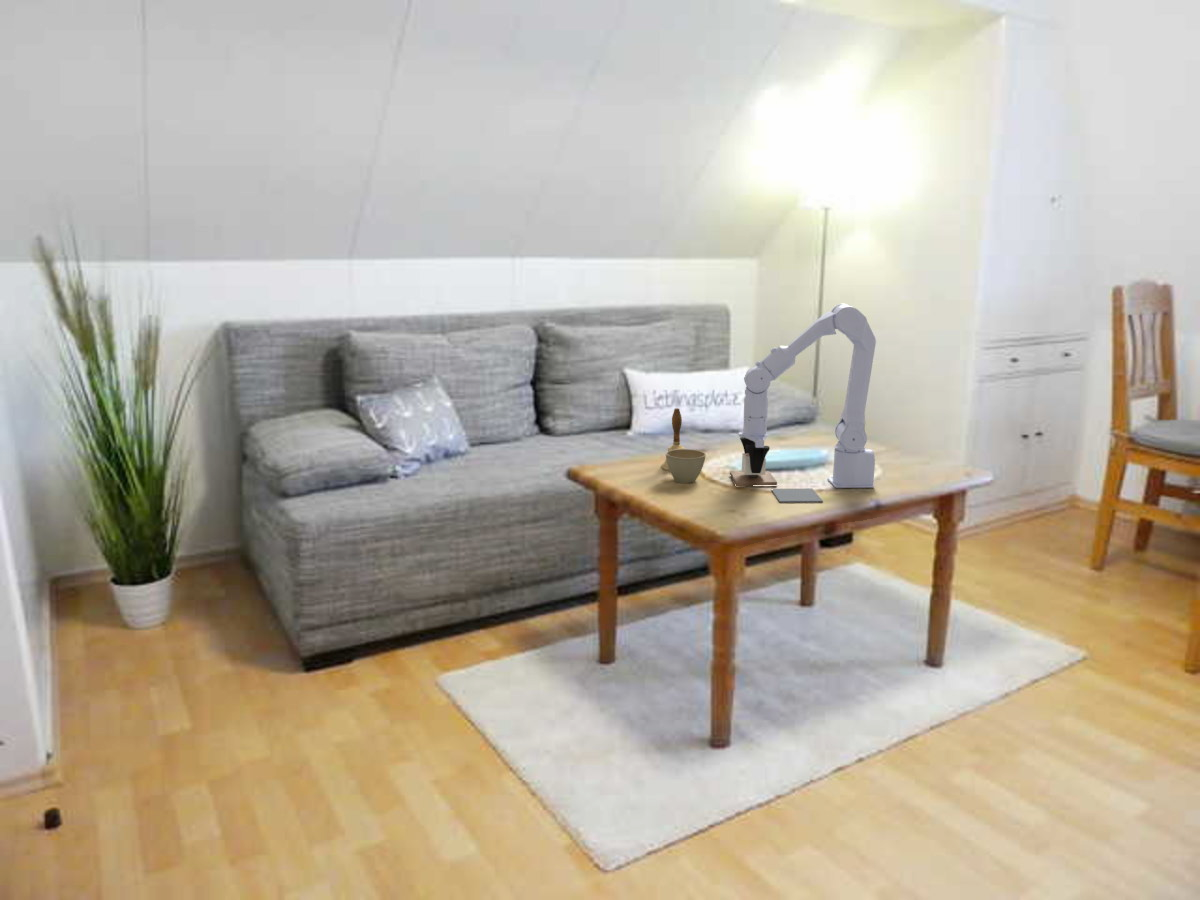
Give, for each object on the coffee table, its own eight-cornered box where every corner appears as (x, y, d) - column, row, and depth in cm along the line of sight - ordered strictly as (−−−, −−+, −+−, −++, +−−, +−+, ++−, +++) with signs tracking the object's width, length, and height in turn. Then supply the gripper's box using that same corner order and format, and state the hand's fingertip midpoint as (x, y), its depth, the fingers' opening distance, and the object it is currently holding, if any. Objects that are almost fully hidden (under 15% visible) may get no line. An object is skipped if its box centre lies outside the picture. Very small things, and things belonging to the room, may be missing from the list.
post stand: (768, 475, 221) (769, 453, 219) (776, 486, 211) (777, 463, 210) (730, 475, 221) (730, 453, 219) (736, 487, 211) (737, 463, 210)
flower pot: (703, 487, 211) (703, 459, 209) (662, 485, 213) (663, 457, 211) (706, 476, 221) (707, 449, 219) (667, 474, 223) (668, 447, 221)
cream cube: (761, 469, 218) (762, 452, 217) (765, 474, 213) (765, 457, 212) (741, 469, 218) (742, 452, 217) (745, 474, 213) (745, 457, 212)
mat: (812, 490, 208) (812, 488, 208) (822, 502, 198) (822, 500, 198) (771, 490, 208) (771, 488, 208) (779, 502, 198) (779, 501, 198)
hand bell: (654, 467, 229) (655, 409, 225) (672, 461, 235) (673, 404, 231) (680, 473, 224) (681, 413, 220) (698, 466, 230) (699, 408, 226)
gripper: (734, 410, 219) (732, 461, 222) (744, 422, 205) (742, 476, 208) (762, 410, 219) (760, 461, 222) (773, 422, 205) (771, 476, 208)
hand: (753, 468), depth 215 cm, fingers open, 7 cm apart
